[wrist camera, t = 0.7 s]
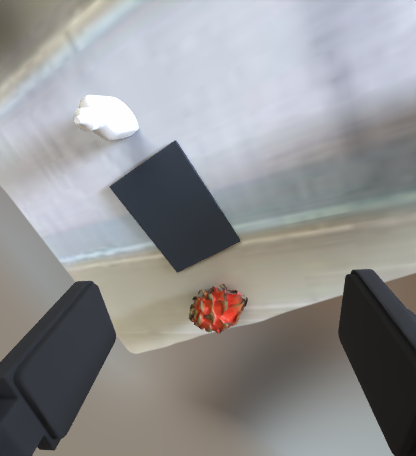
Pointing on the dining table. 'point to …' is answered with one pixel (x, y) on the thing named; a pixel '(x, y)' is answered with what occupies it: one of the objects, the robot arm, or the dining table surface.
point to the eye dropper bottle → (105, 117)
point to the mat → (175, 208)
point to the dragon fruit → (217, 309)
